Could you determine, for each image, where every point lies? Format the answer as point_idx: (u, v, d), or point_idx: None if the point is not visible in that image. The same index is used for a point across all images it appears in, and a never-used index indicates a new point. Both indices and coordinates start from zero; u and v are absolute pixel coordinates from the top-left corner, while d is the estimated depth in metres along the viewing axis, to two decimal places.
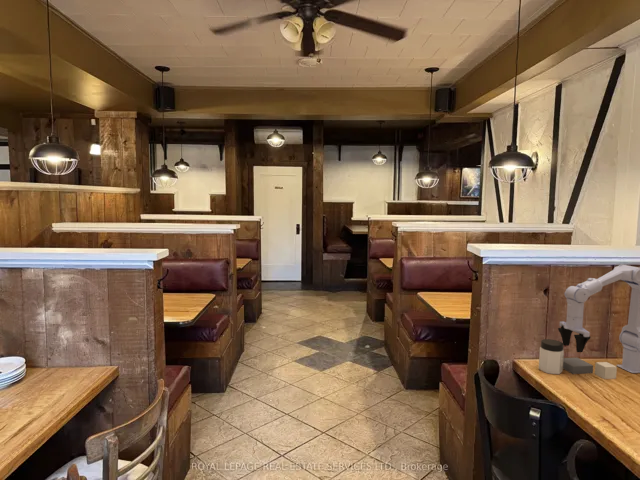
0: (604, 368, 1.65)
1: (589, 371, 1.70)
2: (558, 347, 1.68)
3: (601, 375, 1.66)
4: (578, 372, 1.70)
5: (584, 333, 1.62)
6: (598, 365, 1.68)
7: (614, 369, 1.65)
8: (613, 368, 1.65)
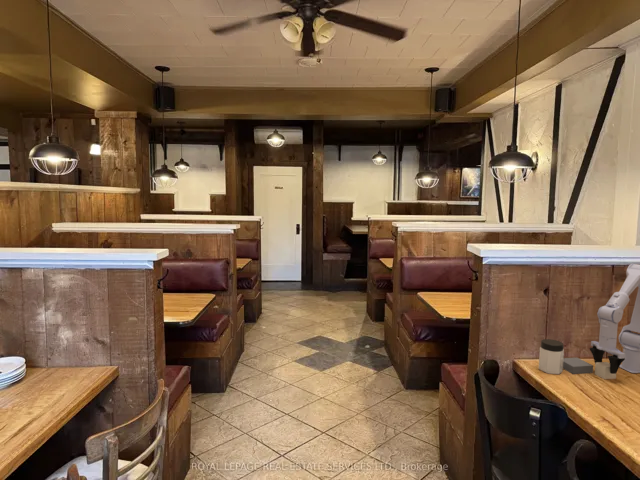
0: (604, 369, 1.65)
1: (589, 371, 1.70)
2: (558, 347, 1.68)
3: (601, 375, 1.66)
4: (578, 372, 1.70)
5: (619, 355, 1.60)
6: (598, 365, 1.68)
7: None
8: None
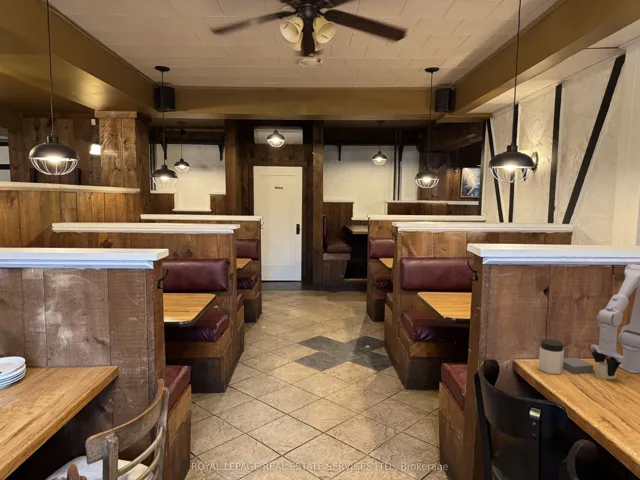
0: (604, 368, 1.65)
1: (589, 371, 1.70)
2: (558, 347, 1.68)
3: (601, 375, 1.66)
4: (578, 372, 1.70)
5: (618, 358, 1.60)
6: (598, 365, 1.68)
7: None
8: None
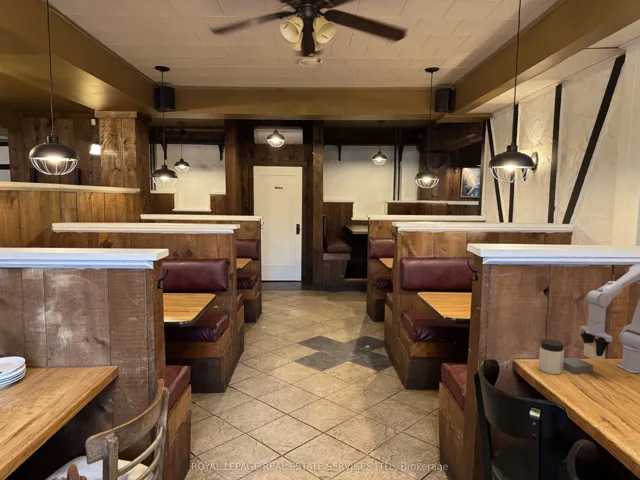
0: (592, 349, 1.67)
1: (589, 371, 1.71)
2: (558, 347, 1.68)
3: (590, 355, 1.68)
4: (578, 372, 1.70)
5: (607, 338, 1.62)
6: (587, 346, 1.70)
7: None
8: None
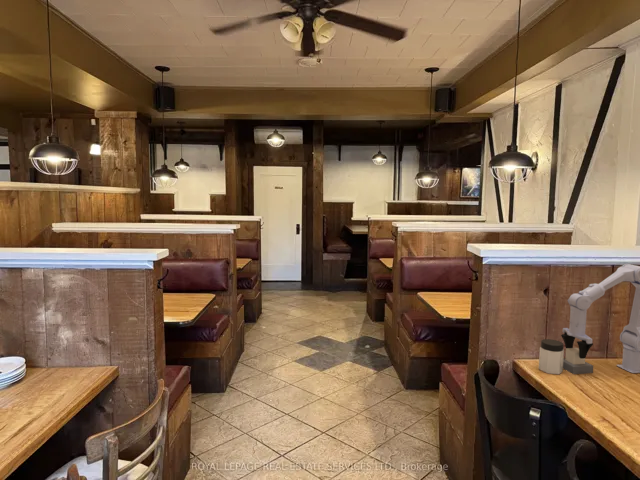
0: (573, 354, 1.72)
1: (589, 371, 1.71)
2: (558, 347, 1.68)
3: (571, 360, 1.73)
4: (579, 372, 1.70)
5: (587, 340, 1.66)
6: (568, 351, 1.75)
7: None
8: None
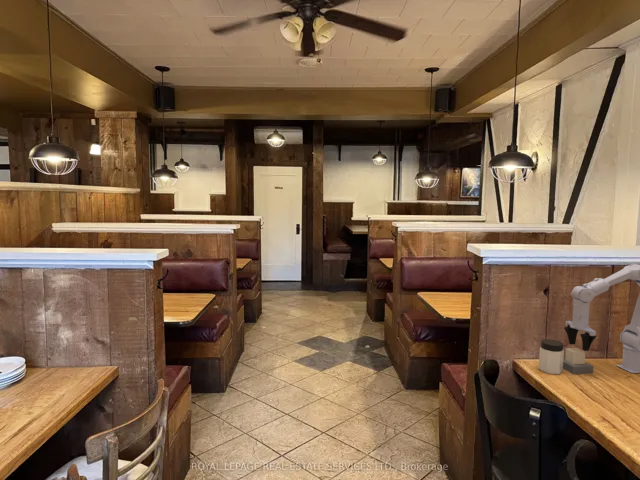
0: (572, 354, 1.72)
1: (589, 371, 1.70)
2: (558, 347, 1.68)
3: (570, 360, 1.73)
4: (579, 372, 1.70)
5: (590, 332, 1.66)
6: (568, 351, 1.75)
7: (582, 355, 1.72)
8: (582, 353, 1.72)
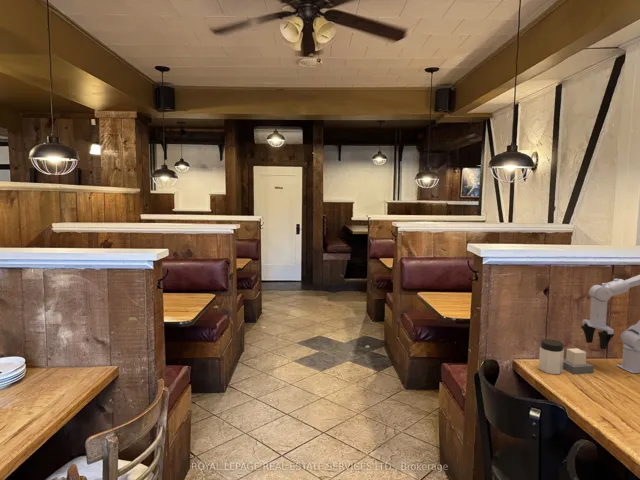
0: (574, 354, 1.71)
1: (589, 371, 1.70)
2: (558, 347, 1.68)
3: (571, 361, 1.73)
4: (579, 372, 1.70)
5: (608, 330, 1.68)
6: (569, 351, 1.74)
7: (583, 355, 1.71)
8: (583, 354, 1.71)
